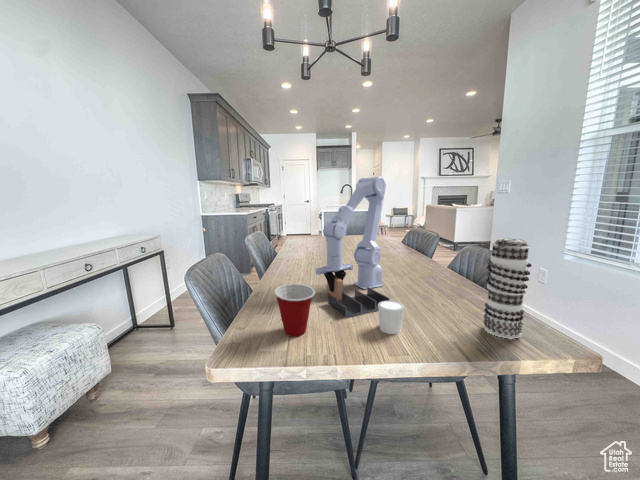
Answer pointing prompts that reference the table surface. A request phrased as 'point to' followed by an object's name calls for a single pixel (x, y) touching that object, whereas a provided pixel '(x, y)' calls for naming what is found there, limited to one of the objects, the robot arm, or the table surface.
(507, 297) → the decorative candle
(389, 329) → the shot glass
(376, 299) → the rack
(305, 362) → the table surface
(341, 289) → the upright salmon slab
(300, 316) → the plastic cup
